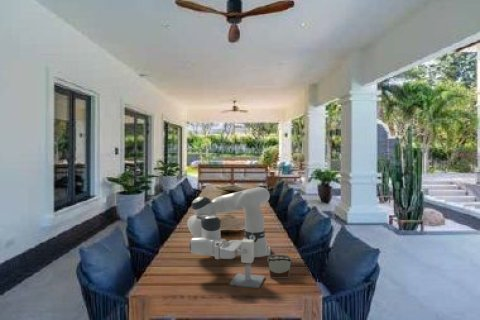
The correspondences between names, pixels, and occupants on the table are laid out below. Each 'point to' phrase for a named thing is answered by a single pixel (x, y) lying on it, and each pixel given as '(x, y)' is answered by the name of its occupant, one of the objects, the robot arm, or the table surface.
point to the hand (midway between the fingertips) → (248, 250)
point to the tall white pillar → (249, 247)
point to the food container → (279, 266)
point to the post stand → (247, 279)
